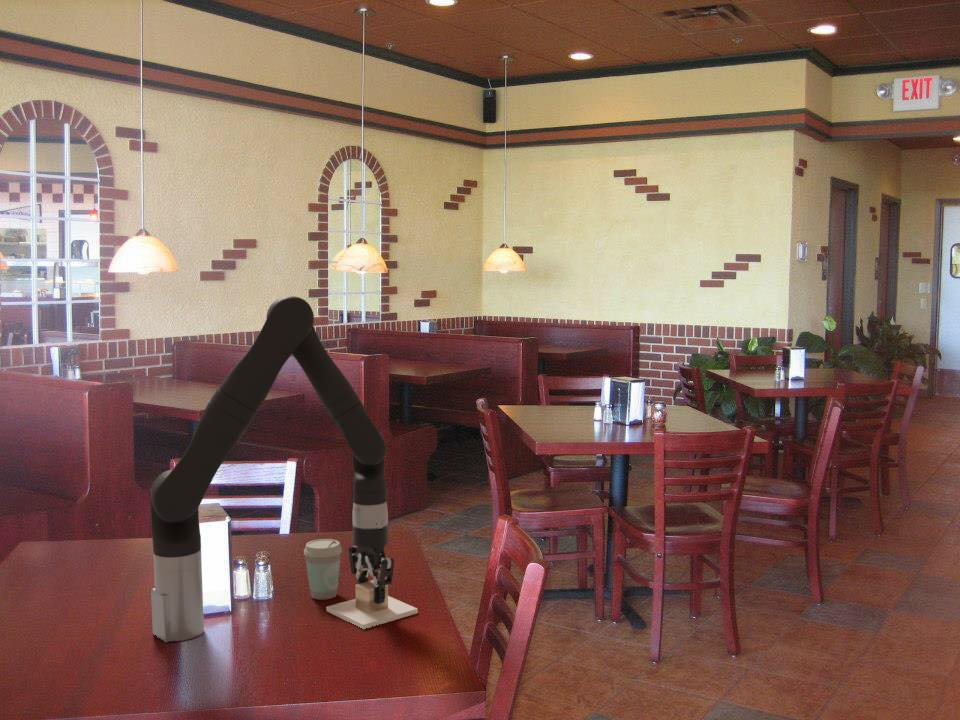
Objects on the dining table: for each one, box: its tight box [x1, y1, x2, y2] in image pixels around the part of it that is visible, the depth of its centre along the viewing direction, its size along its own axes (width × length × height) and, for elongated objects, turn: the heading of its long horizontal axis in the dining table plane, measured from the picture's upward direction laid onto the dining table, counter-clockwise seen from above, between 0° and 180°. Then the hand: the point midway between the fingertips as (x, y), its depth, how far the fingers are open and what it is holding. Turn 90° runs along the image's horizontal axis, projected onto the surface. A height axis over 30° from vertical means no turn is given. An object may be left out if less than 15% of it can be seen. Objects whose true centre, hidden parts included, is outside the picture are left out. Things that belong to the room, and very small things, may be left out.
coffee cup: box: [303, 538, 343, 601], centre depth 222 cm, size 9×9×12 cm
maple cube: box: [354, 579, 389, 613], centre depth 211 cm, size 5×5×5 cm
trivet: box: [325, 595, 418, 630], centre depth 212 cm, size 14×14×1 cm
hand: (371, 598), depth 211 cm, fingers open, 5 cm apart
